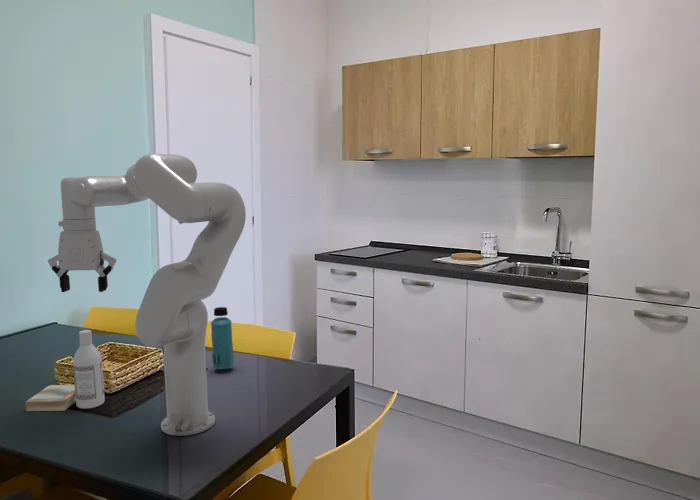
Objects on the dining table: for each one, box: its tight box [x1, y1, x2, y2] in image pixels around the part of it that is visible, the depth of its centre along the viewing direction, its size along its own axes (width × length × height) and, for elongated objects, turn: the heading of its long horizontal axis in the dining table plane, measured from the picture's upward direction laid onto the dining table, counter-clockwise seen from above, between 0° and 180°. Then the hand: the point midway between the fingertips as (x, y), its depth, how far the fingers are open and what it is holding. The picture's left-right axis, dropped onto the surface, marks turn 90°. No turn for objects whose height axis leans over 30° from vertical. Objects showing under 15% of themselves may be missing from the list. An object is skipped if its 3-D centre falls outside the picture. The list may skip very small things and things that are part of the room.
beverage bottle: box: [210, 306, 235, 370], centre depth 174 cm, size 6×7×20 cm
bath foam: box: [72, 329, 106, 409], centre depth 149 cm, size 7×7×20 cm
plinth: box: [24, 384, 76, 412], centre depth 152 cm, size 12×10×3 cm
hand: (84, 291), depth 147 cm, fingers open, 9 cm apart
